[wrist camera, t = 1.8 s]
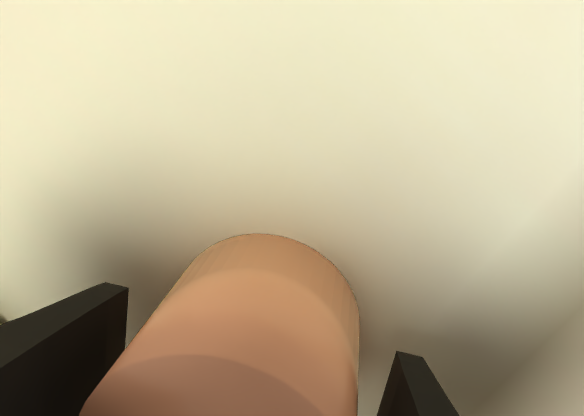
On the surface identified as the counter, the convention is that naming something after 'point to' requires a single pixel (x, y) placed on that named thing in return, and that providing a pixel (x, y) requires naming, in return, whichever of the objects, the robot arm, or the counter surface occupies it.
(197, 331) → the terracotta cylinder
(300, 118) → the counter surface
